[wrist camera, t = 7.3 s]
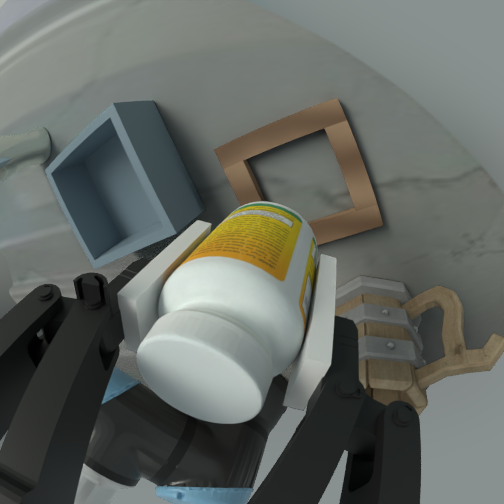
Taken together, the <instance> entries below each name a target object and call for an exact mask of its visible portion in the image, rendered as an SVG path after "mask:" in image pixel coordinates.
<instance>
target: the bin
mask: <svg viewBox="0 0 504 504" xmlns="http://www.w3.org/2000/svg"><path fill="white" fill-rule="evenodd" d="M45 172H46V175H47V177H48V179H49V182H50V184H51V186H52V188H53V191H54V193H55V195H56V197H57V199H58V202H59V204H60V206H61V208H62V210H63V212H64V214H65V216H66V218H67V220H68V222H69V224H70V226H71V228H72V230H73V232H74V234H75V235H76V237H77V239H78V241H79V243H80V245H81V246H82V248H83V250H84V252H85V254H86V255H87V257H88V259H89V261H90V262H91V264H92V266H93V268H94V269H97V268H99V267H101V266H103V265H105V264H108V263H110V262H112V261H114V260H116V259H119V258H121V257H123V256H126V255H128V254H130V253H132V252H135V251H137V250H139V249H142V248H144V247H146V246H149V245H151V244H153V243H156V242H158V241H160V240H163V239H165V238H167V237H170V236H172V235H175V234H177V233H178V232H179V231H180V230H182V229H183V228H184V227H185V226H186V225H187V224H189V223H190V222H191V221H192V220H193V219H195V218H196V217H197V216H198V215H199V214H200V213H202V212H203V211H204V210H205V209H206V208H205V206H204V204H203V202H202V200H201V198H200V196H199V194H198V192H197V190H196V188H195V186H194V184H193V182H192V180H191V178H190V176H189V174H188V172H187V170H186V168H185V166H184V164H183V161H182V159H181V157H180V155H179V153H178V151H177V149H176V147H175V145H174V143H173V141H172V139H171V137H170V135H169V133H168V130H167V128H166V126H165V124H164V122H163V120H162V118H161V116H160V114H159V112H158V109H157V107H156V105H155V103H154V101H134V102H120V103H113V104H111V105H110V106H109V107H108V108H107V109H106V110H104V111H103V112H102V113H101V114H100V115H99V116H98V117H97V118H95V119H94V120H93V121H92V122H91V123H90V124H89V125H88V126H87V127H86V128H85V129H84V130H83V131H82V132H81V133H80V134H79V135H77V136H76V137H75V138H74V139H73V140H72V141H71V142H70V143H69V145H68V146H67V147H66V148H65V149H64V150H63V151H62V152H61V153H60V154H59V155H58V156H57V157H56V158H55V159H54V160H53V162H52V163H51V164H50V165H49V166H48V167H47V168H46V169H45Z"/></svg>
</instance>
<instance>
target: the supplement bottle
mask: <svg viewBox="0 0 504 504" xmlns="http://www.w3.org/2000/svg"><path fill="white" fill-rule="evenodd" d="M317 255H318V250H317V242H316V238H315V235H314V233H313V231H312V229H311V227H310V226H309V224H308V223H307V222H306V220H305V219H304V218H303V217H302V216H300V215H299V214H298V213H297V212H296V211H294V210H292V209H290V208H288V207H286V206H284V205H280V204H277V203H273V202H266V201H259V202H252V203H248V204H245V205H243V206H241V207H239V208H238V209H236V210H235V211H233V212H232V213H231V214H230V215H229V216H228V217H227V218H226V219H225V220H224V221H223V222H222V223H221V224H219V225H218V226H217V227H216V229H215V230H214V231H213V232H212V233H211V234H210V235H209V236H208V237H207V238H206V239H205V240H204V241H203V242H202V243H201V244H200V245H199V246H198V247H197V248H196V249H195V250H194V251H193V252H192V253H191V255H189V256H188V258H187V259H186V260H185V261H184V262H183V263H182V264H181V265H180V266H179V267H178V268H177V269H176V270H175V271H174V272H173V273H172V275H171V276H170V277H169V278H168V280H167V281H166V283H165V285H164V287H163V289H162V291H161V294H160V299H159V305H158V313H159V319H158V320H157V321H156V322H155V324H154V325H153V327H152V329H151V330H150V331H149V333H148V334H147V336H146V337H145V338H144V340H143V341H142V342H141V344H140V346H139V348H138V351H137V355H136V362H137V366H138V369H139V372H140V374H141V376H142V377H143V379H144V380H145V382H146V383H147V385H148V386H149V387H150V388H151V389H152V390H153V391H154V392H155V393H156V394H157V395H158V396H159V397H160V398H161V399H162V400H164V401H165V402H167V403H168V404H169V405H171V406H172V407H174V408H176V409H178V410H179V411H181V412H183V413H185V414H188V415H190V416H192V417H195V418H197V419H201V420H204V421H208V422H213V423H221V424H236V423H242V422H245V421H248V420H251V419H252V418H254V417H255V416H256V415H257V414H258V413H259V412H260V411H261V409H262V407H263V405H264V402H265V399H266V396H267V393H268V390H269V387H270V385H271V382H272V379H273V377H275V376H277V375H278V374H280V373H282V372H283V371H284V370H286V369H287V368H288V367H289V366H290V365H291V364H292V362H293V361H294V360H295V358H296V357H297V355H298V353H299V351H300V349H301V346H302V343H303V339H304V334H305V329H306V324H307V319H308V313H309V308H310V302H311V296H312V290H313V284H314V278H315V273H316V264H317Z"/></svg>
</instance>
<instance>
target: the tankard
mask: <svg viewBox="0 0 504 504" xmlns="http://www.w3.org/2000/svg"><path fill="white" fill-rule="evenodd" d="M435 306H437V307H439V308H441V309H443V311H444V314H443V324H442V333H441V337H442V343H443V349H444V355H445V357H443V358H441V359H439V360H437V361H434V362H432V363H430V364H428V365H426V364H425V363H426V361H425V360H424V359H423V358H422V357H421V355H420V354H421V353H422V351H423V349H424V348H423V344H422V340H421V336H420V334H419V332H418V326H419V324H420V322H421V320H422V317H421V313H423V312H424V311H426V310H427V309H430V308H432V307H435ZM335 315H336V316H339V317H343V318H347V319H351V320H353V321H354V323H355V325H356V327H357V329H358V343H359V348H358V349H359V381H360V382H361V383H362V384H363V386H364V389H365V393H366V394H367V395H368V396H370V397H371V398H373V399H374V400H376V401H378V402H380V403H383V404H385V405H387V406H388V404H389V403H391V402H393V401H404V402H407V403H409V404H410V405H411V406H413V407H414V408H415V410H416V411H417V413H418V416H419V415H420V414H421V412H422V411H423V410H424V409H425V408H426V406H427V402H428V401H427V395H426V389H427V388H428V387H429V385H431V384H433V383H435V382H437V381H439V380H441V379H443V378H445V377H447V376H453V375H459V374H464V373H473V372H482V371H490V370H491V369H492V367H493V366H494V365H495V363H496V362H497V360H498V359H499V358H500V356H501V355H502V353H503V352H504V337H502V336H500V335H497V334H495V333H494V334H492V335H491V337H490V338H489V340H488V341H487V343H486V344H485V345H484V347H483V348H482V349H468V350H467V348H466V344H465V339H464V335H463V325H464V308H463V306H462V303H461V302H460V300H459V298H458V296H457V295H456V293H455V291H452V290H450V289H447V288H444V287H442V286H439V285H438V286H436V287H434V288H431V289H429V290H427V291H425V292H423V293H421V294H419V295H417V296H416V297H414V298H413V299H412V297H411V296H410V294H409V292H408V290H407V289H406V287H405V285H404V284H403V283H402V282H396V281H390V280H384V279H378V278H372V277H366V276H359V277H357V278H355V279H354V280H352V281H350V282H348V283H347V284H345V285H343V286H341V287H340V288H338V289H336V294H335Z"/></svg>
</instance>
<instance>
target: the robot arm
mask: <svg viewBox="0 0 504 504" xmlns="http://www.w3.org/2000/svg"><path fill="white" fill-rule="evenodd" d="M211 225H212V224H211V223H207V222H203V221H200V220H197V221H196V222H195V223H193V224H192V225H191V226H190V227H189V228H188V229H187V230H185V231H184V232H183V233H182V234H181V235H180V236H179V237H177V238H176V239H175V240H174V241H173V242H172V243H171V244H170V245H168V246H167V247H166V248H165V249H164V250H163V251H162V252H161V253H160V254H159V255H157V256H156V257H155V258H154V259H153V260H152V261H151V260H148V259H145V258H142V259H140V260H137V261H135V262H133V263H132V264H131V265H129V266H128V267H127V268H126V270H124V271H123V272H122V273H120V275H118V276H117V277H116V278H115V279H114V280H113V281H111V282H110V283H109V284H108V282H107V279H106V278H105V277H104V276H103V275H101V274H98V273H86V274H82V275H80V276H78V277H77V278H76V279H75V280H73V281H74V286H75V291H76V295H77V299H73V298H67V297H62V295H61V292H60V289H59V287H57V286H56V285H53V284H44V285H41V286H39V287H37V288H35V289H34V290H33V291H32V292H31V293H29V294H28V295H27V296H26V297H25V298H24V299H22V300H21V301H20V302H19V303H18V304H17V305H16V306H15V307H13V308H12V309H11V310H10V311H9V312H8V313H7V314H6V315H5V316H4V317H2V318H1V319H0V440H1V439H2V437H3V436H4V435H5V433H6V432H7V430H8V432H7V434H6V437H5V440H4V442H3V445H2V448H1V450H0V504H110V502H111V501H112V499H113V498H114V496H115V495H116V493H117V492H118V490H119V489H128V488H134V487H135V486H136V484H137V483H138V481H139V480H140V478H142V477H143V478H145V479H147V480H149V481H151V482H153V483H155V484H156V485H157V487H156V488H155V490H156V491H155V493H156V495H157V496H158V497H160V498H162V499H164V500H166V501H168V502H171V503H174V504H318V503H319V501H320V499H321V497H322V495H323V493H324V491H325V489H326V487H327V485H328V483H329V481H330V479H331V477H332V475H333V473H334V471H335V469H336V467H337V465H338V462H339V460H340V458H341V456H342V454H343V452H344V450H346V451H348V457H347V463H346V471H345V476H344V482H343V487H342V493H341V498H340V503H339V504H420V487H421V444H420V443H421V442H420V422H419V416H418V413H417V411H416V410H415V408H414V407H413V406H411V405H410V404H409V403H407V402H404V401H393V402H391V403H389V404H388V406H387V405H385V404H383V403H380V402H378V401H376V400H374V399H373V398H371V397H370V396H368V395H367V394H366V393H365V389H364V386H363V384H362V383H361V382H360V381H359V349H358V348H359V343H358V329H357V327H356V325H355V323H354V321H353V320H351V319H347V318H343V317H339V316H336V315H335V294H336V258H334V257H330V256H327V255H323V254H321V256H320V259H319V262H318V265H317V268H316V273H315V278H314V284H313V290H312V296H311V302H310V308H309V313H308V319H307V324H306V329H305V334H304V339H303V343H302V346H301V349H300V351H299V353H298V355H297V357H296V358H295V360H294V361H293V364H292V369H291V373H290V378H289V382H288V384H287V382H286V381H285V380H284V378H283V377H282V376H281V375H279V374H278V375H277V376H275V377H273V379H272V382H271V385H270V387H269V390H268V393H267V396H266V399H265V402H264V405H263V407H262V409H261V411H260V412H259V413H258V414H257V415H256V416H255V417H254V418H252V419H251V420H248V421H245V422H242V423H236V424H221V423H213V422H208V421H204V420H201V419H197V418H195V417H192V416H190V415H188V414H185V413H183V412H181V411H179V410H178V409H176V408H174V407H172V406H171V405H169V404H168V403H167V402H165V401H164V400H162V399H161V398H160V397H159V396H158V395H157V394H156V393H155V392H153V391H152V390H150V389H149V388H147V387H146V386H144V385H143V384H142V383H141V381H139V380H135V379H134V378H132V377H131V376H129V375H128V374H126V373H125V372H123V371H122V370H120V369H119V368H116V367H115V364H116V361H117V359H118V356H119V351H120V350H119V344H120V343H121V342H122V340H123V339H124V341H125V346H126V348H127V349H129V350H131V351H133V352H135V353H137V351H138V348H139V346H140V344H141V342H142V341H143V340H144V338H145V337H146V336H147V334H148V333H149V331H150V330H151V329H152V327H153V325H154V324H155V322H156V321H157V320H158V319H159V313H158V305H159V299H160V294H161V291H162V289H163V287H164V285H165V283H166V281H167V280H168V278H169V277H170V276H171V275H172V273H173V272H174V271H175V270H176V269H177V268H178V267H179V266H180V265H181V264H182V263H183V262H184V261H185V260H186V259H187V258H188V256H189V255H191V253H192V252H193V251H194V250H195V249H196V248H197V247H198V246H199V245H200V244H201V243H202V242H203V241H204V240H205V239H206V238H207V237H208V236H209V235H210V233H211ZM40 330H42V333H43V334H42V335H41V336H40V337H37V333H38V332H39V331H40ZM306 406H307V411H306V415H305V416H304V418H303V419H302V421H301V422H300V424H299V425H298V427H297V428H296V431H295V433H294V434H293V436H292V438H291V440H290V441H289V443H288V444H287V446H286V448H285V449H284V451H283V452H282V454H281V456H280V457H279V459H278V460H277V462H276V463H275V465H274V466H273V468H272V469H271V471H270V472H269V474H268V475H267V477H266V478H265V480H264V481H263V482H262V484H261V485H260V487H259V488H258V489H257V491H256V492H255V494H254V495H253V496H252V498H251V499H250V500H249V497H250V495H251V492H253V486H254V483H255V480H256V476H257V473H258V470H259V466H260V463H261V459H262V456H263V453H264V449H265V445H266V442H267V439H268V435H269V433H270V432H271V430H272V429H273V428H274V426H275V425H276V424H277V422H278V420H279V419H280V418H281V416H282V414H283V413H284V412H285V411H286V409H287V407H290V408H295V409H299V410H304V409H305V407H306ZM248 500H249V502H248ZM247 502H248V503H247Z"/></svg>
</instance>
